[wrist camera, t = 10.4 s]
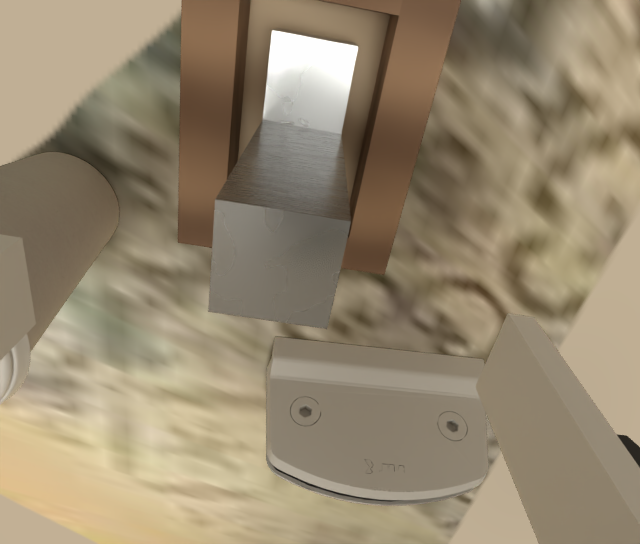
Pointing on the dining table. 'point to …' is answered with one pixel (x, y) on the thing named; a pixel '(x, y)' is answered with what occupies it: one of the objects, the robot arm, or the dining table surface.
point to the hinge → (374, 422)
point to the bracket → (288, 191)
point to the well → (361, 113)
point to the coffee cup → (52, 238)
